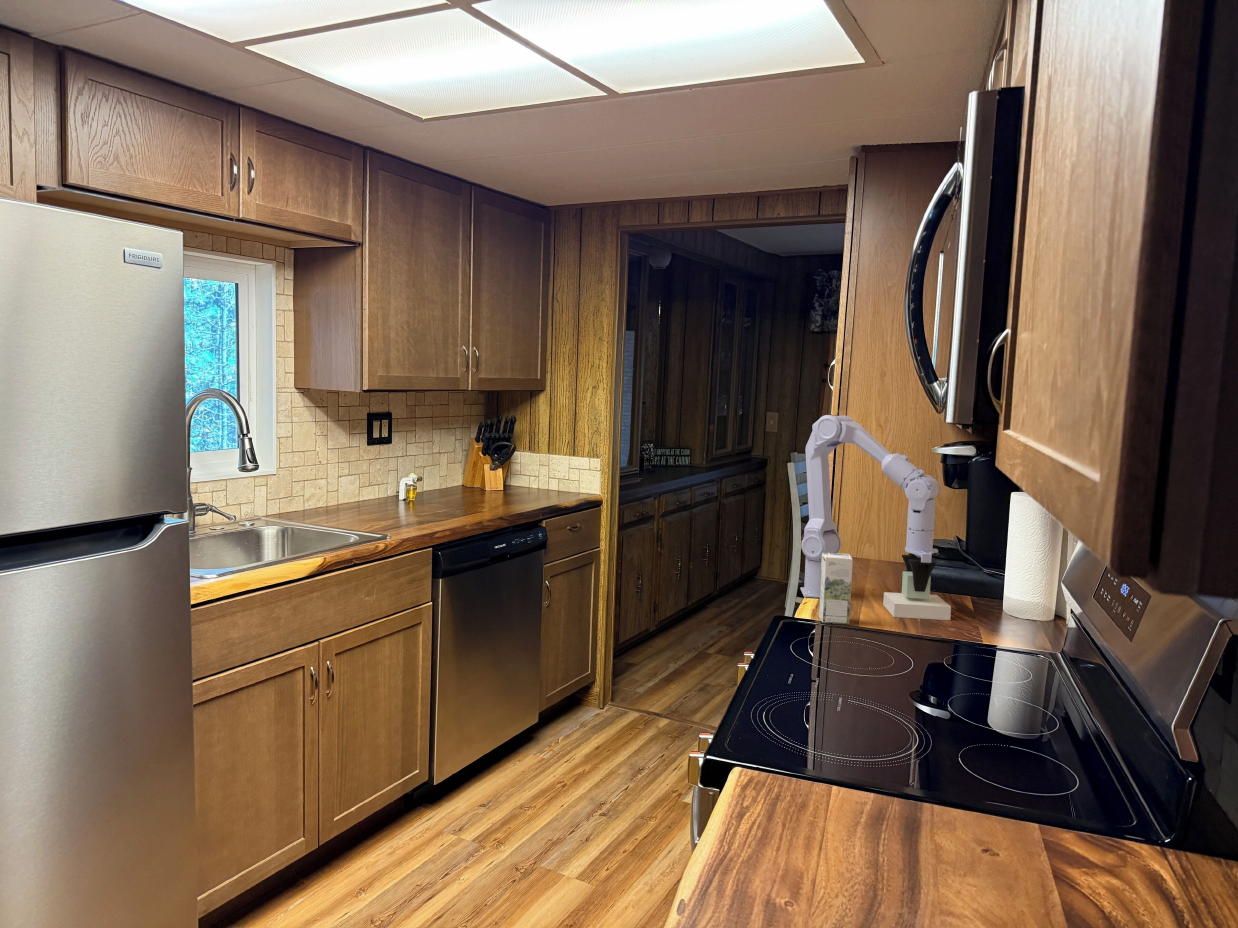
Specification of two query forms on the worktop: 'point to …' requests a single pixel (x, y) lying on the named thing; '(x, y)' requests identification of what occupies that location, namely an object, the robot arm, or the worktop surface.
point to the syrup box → (835, 588)
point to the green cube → (909, 587)
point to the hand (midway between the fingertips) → (916, 588)
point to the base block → (916, 607)
